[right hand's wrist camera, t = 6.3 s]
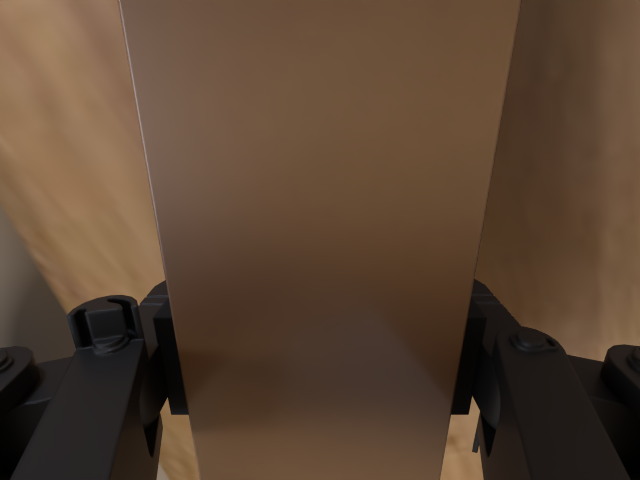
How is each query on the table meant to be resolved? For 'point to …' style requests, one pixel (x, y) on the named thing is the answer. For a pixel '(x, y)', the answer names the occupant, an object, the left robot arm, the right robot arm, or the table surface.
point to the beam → (319, 219)
